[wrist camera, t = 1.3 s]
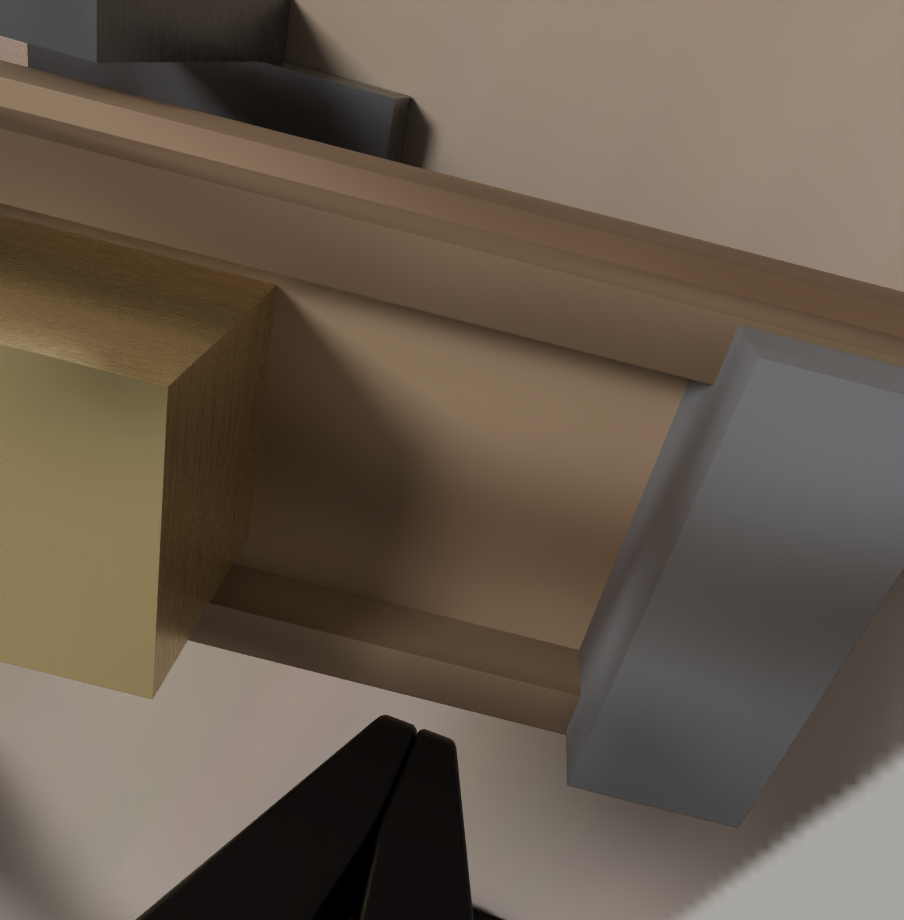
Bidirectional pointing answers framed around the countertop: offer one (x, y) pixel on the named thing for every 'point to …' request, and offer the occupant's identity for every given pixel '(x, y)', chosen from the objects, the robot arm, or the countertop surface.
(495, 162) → the countertop surface
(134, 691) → the block
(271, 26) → the trestle
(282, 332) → the beam
